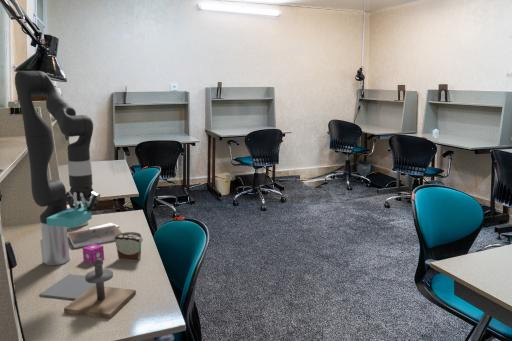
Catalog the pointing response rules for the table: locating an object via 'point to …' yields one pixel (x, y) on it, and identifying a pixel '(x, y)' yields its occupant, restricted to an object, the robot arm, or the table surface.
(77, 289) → the mat
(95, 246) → the puzzle toy
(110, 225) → the external hard drive
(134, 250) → the food container
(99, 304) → the stand
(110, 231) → the picture frame
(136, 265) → the table surface
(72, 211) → the teal square racket
